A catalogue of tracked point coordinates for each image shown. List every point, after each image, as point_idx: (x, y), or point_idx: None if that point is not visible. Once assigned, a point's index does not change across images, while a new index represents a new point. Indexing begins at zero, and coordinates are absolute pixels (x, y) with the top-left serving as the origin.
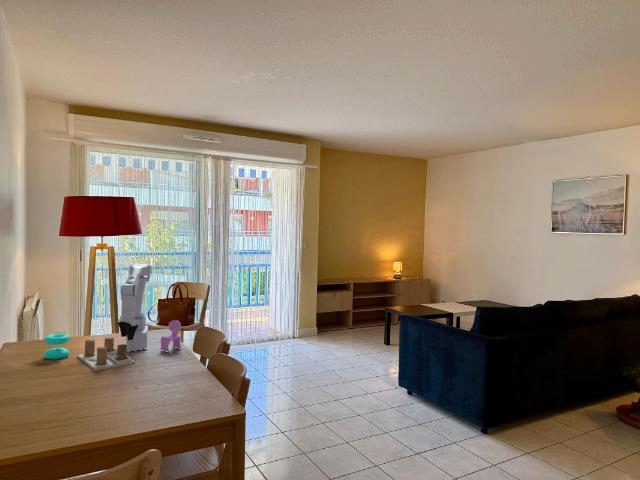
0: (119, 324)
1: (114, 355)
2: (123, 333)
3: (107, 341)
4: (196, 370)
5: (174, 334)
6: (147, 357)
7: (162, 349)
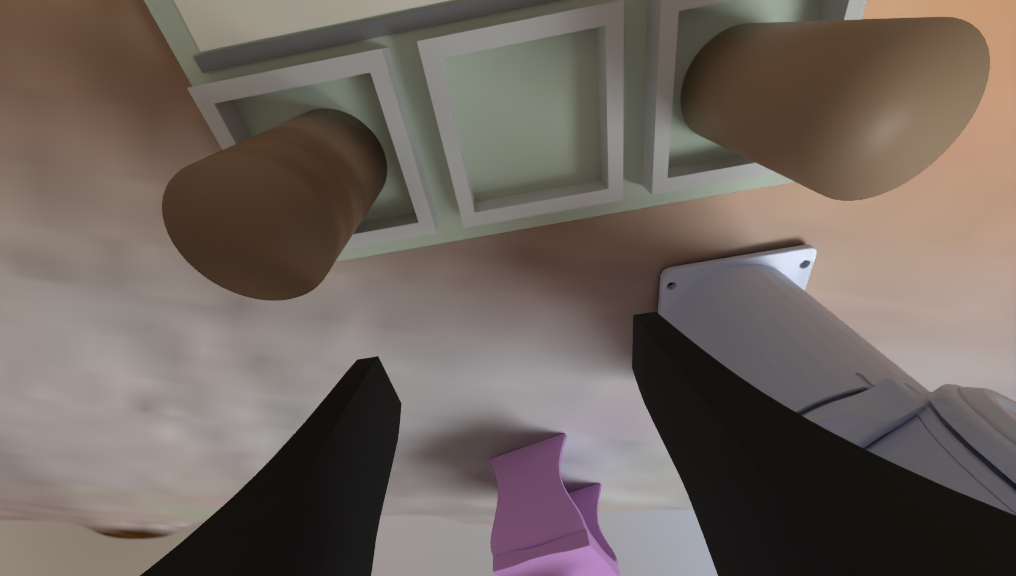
0: (824, 548)
1: (581, 127)
2: (657, 374)
3: (807, 66)
4: (97, 498)
5: None
6: (451, 356)
7: (545, 453)
